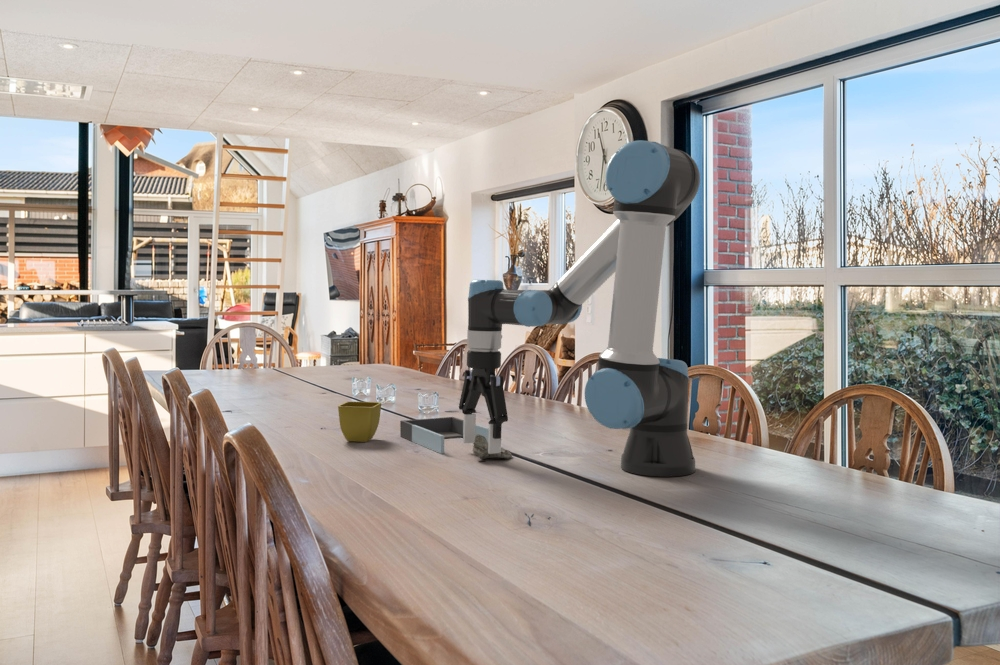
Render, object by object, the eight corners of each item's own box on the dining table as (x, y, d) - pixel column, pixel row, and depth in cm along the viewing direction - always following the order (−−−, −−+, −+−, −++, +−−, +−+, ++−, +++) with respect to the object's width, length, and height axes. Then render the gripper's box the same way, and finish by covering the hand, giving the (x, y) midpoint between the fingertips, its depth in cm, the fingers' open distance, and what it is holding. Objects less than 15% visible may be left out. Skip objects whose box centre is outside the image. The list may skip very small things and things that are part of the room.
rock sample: (516, 445, 175) (489, 416, 179) (489, 469, 174) (463, 440, 177) (521, 457, 185) (496, 429, 188) (495, 480, 184) (470, 452, 187)
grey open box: (465, 436, 207) (465, 420, 207) (411, 441, 200) (411, 425, 200) (453, 432, 214) (453, 416, 213) (400, 436, 207) (400, 420, 206)
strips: (497, 448, 192) (498, 431, 192) (440, 453, 185) (441, 436, 185) (465, 436, 207) (465, 420, 207) (411, 441, 200) (411, 425, 200)
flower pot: (382, 437, 205) (382, 401, 204) (373, 444, 196) (373, 406, 196) (347, 436, 206) (347, 401, 205) (337, 443, 197) (337, 406, 197)
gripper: (526, 354, 172) (523, 457, 174) (474, 345, 193) (472, 437, 194) (494, 354, 169) (491, 459, 170) (445, 345, 190) (443, 439, 191)
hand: (481, 447), depth 182 cm, fingers open, 11 cm apart
